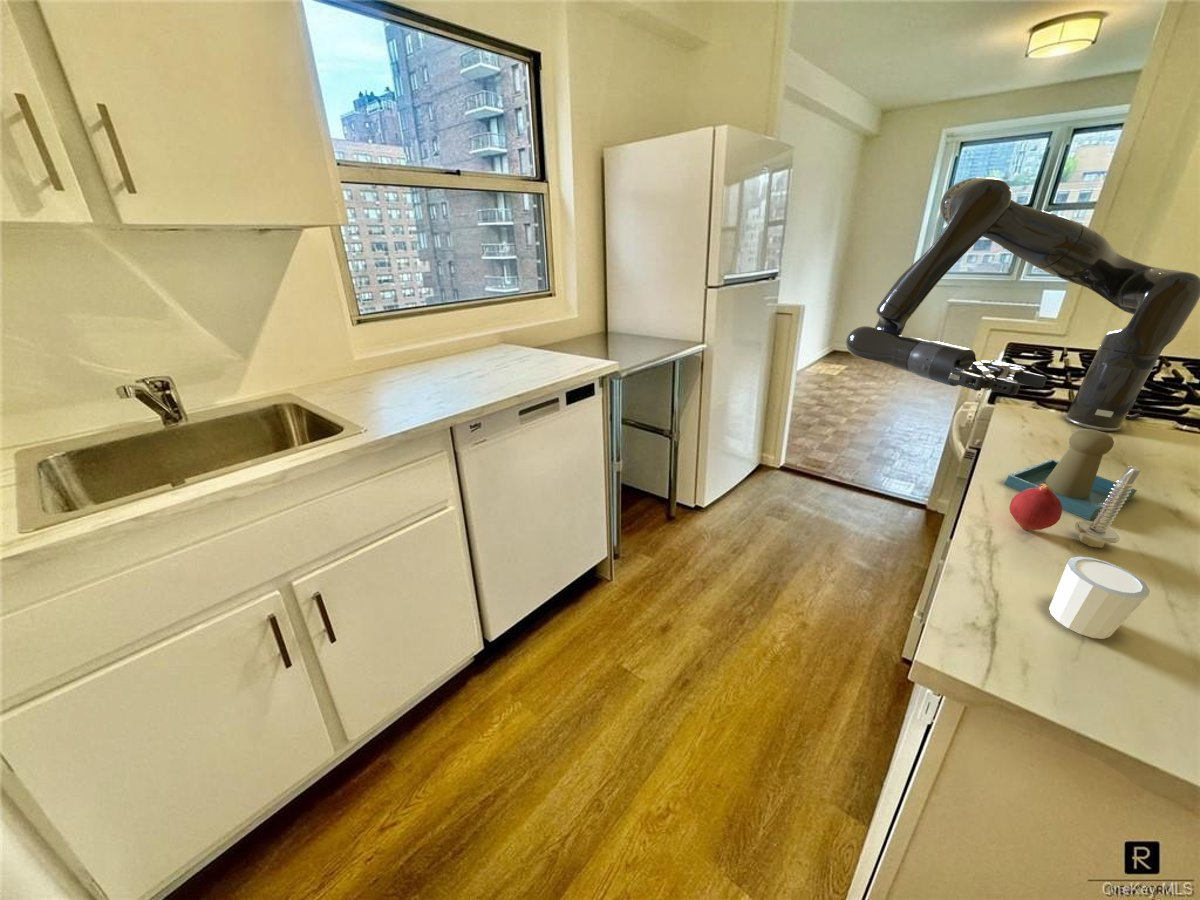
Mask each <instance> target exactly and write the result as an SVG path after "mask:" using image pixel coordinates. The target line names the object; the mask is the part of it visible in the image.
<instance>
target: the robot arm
mask: <svg viewBox="0 0 1200 900" xmlns="http://www.w3.org/2000/svg"><path fill="white" fill-rule="evenodd" d="M939 212H940V216H941V218H942V220H943V221H944V222H945V223H946V226H945V228H944V229H943V231H942V232H941V234H940V235H939V236H938V238H936V240H935V241H934V243H933V244H932V245H931V246H930V247H929V248H928V249H927V251H925V253H924V254H922V255H921V257H919V258H918V259H917V260H916V261H915V262H914V263H913V264H912V265H911V266H909V267H908V268H907V269H906V270H904V272H903V273H902V274H901V275H900V276H899V277H898V278H897V279H896V281H895V282H894V283H893V285H892V286H891V287H890V289H889V290H888V291H887V292H886V293H885V295H884V296H883V298H882V300H881V301H880V302H879V304H878V305H877V307H876V309H875V312H876V314H877V316H878V317H879V318H878V320H877V323H876V324H875V327H873V326H870V325H869V326H867V325H864V326H858V327H855V328H854V329H852V330H851V331H850V332H849V333H848V335H847V336H846V339H845V347H846V349H847V351H848V353H849V354H851V355H852V356H854V357H856V358H859V359H863V360H866V361H870V362H878V363H882V364H885V365H888V366H890V367H892V368H894V369H897V370H901V371H904V372H908V373H911V374H914V375H916V376H918V377H920V378H923V379H925V380H926V379H927V380H930V381H934V382H937V383H940V384H943V385H947V386H951V387H957V386H960V387H963V388H967V389H971V390H973V391H976V392H978V391H979V392H980V391H982V390H984V391H994V392H996V393H997V392H998V393H1001V394H1005V395H1007V396H1008V395H1009V396H1016V395H1017V394H1018V393H1019V390H1020V387H1021V385H1024V386H1028V387H1032V388H1036V389H1042V388H1043V387H1045V385H1046V382H1047V380H1048V377H1047V376H1046V375H1042V374H1038V373H1034V372H1030V371H1026V370H1027V367H1026V366H1025V365H1018V364H1013V363H1009V362H1004V361H1001V360H996V359H990V360H981V361H978V360H977V358H976V353H975V351H974V350H973V349H971V348H967V347H962V346H957V345H953V344H949V343H944V342H942V341H941V342H940V341H933V340H925V339H922V338H916V337H912V336H906V335H902V333H903V331H904V329H905V327H906V324H907V323H908V321H909V319H910V318H911V317H912V316H913V315H914V313H915V312H916V311H917V310H918V308H919V307H920V306H921V305H922V303H923V302H924V300H926V298H927V297H928V296H929V294H930V293H931V292H932V290H933V289H934V288H936V285H938V284H939V282H940V281H941V280H942V279H943V278H944V276H946V274H947V273H948V272H949V271H950V270H951V269H952V267H953V266H955V265H956V264H957V262H958V261H959V260H960V259H961V258H962V257H963V256H964V255H965V254H966V253H967V252H968V251H969V250H970V249H971V248H972V247H973V246H974V245H975V244H976V243H977V242H979V240H980V239H981V238H982V237H983V238H986V239H988V240H990V241H992V242H994V243H995V244H997V245H998V246H1001V247H1002V248H1004V249H1005V250H1006V251H1008V252H1009V253H1012V255H1014V256H1016V257H1018V258H1019V259H1021V260H1023V261H1024V262H1026V263H1028V264H1030V265H1032V266H1033V267H1035V268H1037V269H1040V270H1042V271H1044V272H1046V273H1047V274H1049V275H1052V276H1055V277H1057V278H1059V279H1062V280H1064V281H1067V282H1069V283H1071V284H1075V285H1079V286H1082V287H1084V288H1087V289H1089V290H1091V291H1092V292H1094V293H1096V294H1097V295H1099V296H1100V297H1101V298H1103V299H1105V300H1107V301H1108V302H1109V303H1111V304H1112V305H1114V306H1115V308H1118V309H1119V310H1121V311H1123V312H1125V313H1128V314H1129V315H1133V316H1132V317H1131V319H1130V320H1129V322H1128V324H1127V325H1126V326H1125V327H1124V328H1122V329H1119V330H1113V331H1109V332H1107V333H1106V334H1105V335H1104V336H1103V338H1102V340H1101V342H1100V345H1099V346H1098V349H1097V351H1096V353H1095V355H1094V357H1093V360H1092V361H1091V363H1090V366H1089V367H1088V369H1087V371H1086V373H1085V375H1084V377H1083V379H1082V382H1081V384H1080V385H1079V388H1078V390H1077V392H1076V394H1075V395H1074V398H1073V400H1072V402H1071V404H1070V406H1069V408H1068V410H1067V412H1066V413H1065V415H1064V419H1065V420H1066V421H1067V422H1069V423H1071V424H1074V425H1076V426H1079V427H1082V428H1085V429H1092V430H1097V431H1101V432H1118V431H1120V429H1121V428H1122V425H1123V423H1124V421H1125V420H1129V421H1130V420H1136V419H1138V418H1142V417H1144V416H1143V415H1140V414H1139V413H1135V414H1133V415H1129V412H1131V411H1132V409H1133V408H1134V405H1135V404H1136V402H1137V398H1138V396H1139V394H1140V392H1141V391H1142V389H1143V387H1144V386H1145V383H1146V381H1147V379H1148V377H1149V376H1150V374H1151V372H1152V371H1153V368H1154V367H1155V365H1156V363H1157V361H1158V359H1159V358H1160V355H1161V354H1162V352H1163V350H1164V349H1165V347H1167V346H1168V345H1169V344H1170V343H1171V342H1173V340H1175V338H1176V337H1177V336H1178V335H1179V333H1180V331H1181V330H1182V329H1183V327H1184V325H1185V323H1186V322H1187V320H1188V319H1189V317H1190V316H1191V314H1192V312H1193V311H1194V309H1195V307H1196V306H1197V304H1198V302H1199V301H1200V277H1199V275H1197V274H1195V273H1193V272H1190V271H1184V270H1178V269H1170V268H1163V267H1156V266H1151V265H1147V264H1143V263H1141V262H1138V261H1135V260H1133V259H1130V258H1128V257H1125V256H1123V255H1121V254H1120V253H1119V252H1117V251H1116V250H1115V248H1114V247H1113V245H1112V244H1111V243H1110V241H1109V240H1108V239H1107V238H1105V236H1104V235H1102V234H1101V233H1100V232H1098V231H1096V230H1094V229H1092V228H1090V227H1088V226H1086V225H1084V224H1082V223H1080V222H1077V221H1075V220H1073V219H1070V218H1068V217H1065V216H1061V215H1058V214H1055V213H1052V212H1048V211H1044V210H1041V209H1036V208H1032V207H1028V206H1026V205H1023V204H1021V203H1018V202H1017V201H1015V200H1013V199H1012V190H1011V186H1010V185H1009V184H1008V183H1007V182H1006V181H1005V180H1003V179H1000V178H995V177H971V178H966V179H963V180H960V181H959V182H957V183H954V184H953V185H952V186H950V187H949V188H948V189H947V190H946V191H945V193H944V194H943V196H942V197H941V200H940V205H939ZM1010 372H1011V374H1010ZM1012 373H1014V374H1012ZM1127 414H1128V415H1129V416H1127Z"/></svg>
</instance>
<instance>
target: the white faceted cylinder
mask: <svg viewBox="0 0 1200 900" xmlns="http://www.w3.org/2000/svg"><path fill="white" fill-rule="evenodd" d="M1150 592H1151V590H1150V588H1149V586H1148V584H1147V583H1146V582H1145V581H1144V580H1143V579H1141V578H1140V577H1139V576H1138V575H1136V574H1134V573H1133V572H1131V571H1129V570H1127V569H1125V568H1124V567H1122V566H1119V565H1117V564H1114V563H1112V562H1109V561H1106V560H1103V559H1100V558H1099V559H1098V558H1095V557H1090V556H1089V557H1088V556H1075V557H1070V558H1069V560H1068V561H1067V563H1066V566H1065V567H1064V571H1063V573H1062V576H1061V578H1060V581H1059V583H1058V586H1057V587H1056V590H1055V593H1054V596H1053V598H1052V599H1051V602H1050V605H1049V608H1048V609H1049V613H1050V615H1051V616H1052V618H1054V619H1055V621H1057V622H1058V623H1059V624H1060V625H1062V626H1063V627H1065V628H1067V629H1068V630H1070V631H1072V632H1075V633H1076V634H1078V635H1082V636H1085V637H1088V638H1091V639H1100V640H1104V639H1107V638H1110V637H1112V635H1113V634H1114V633H1115V632H1116V631H1117V630H1118V628H1120V626H1122V624H1123V623H1125V621H1126V620H1127V619H1128V618H1129V617H1130V616H1132V614H1133V613H1134V612H1135V611H1136V610H1137V608H1138V607H1139V606H1140V605H1141V604H1142V603H1143V602H1144V601H1145V600H1146V599H1147V598H1148V597H1149V594H1150Z"/></svg>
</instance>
